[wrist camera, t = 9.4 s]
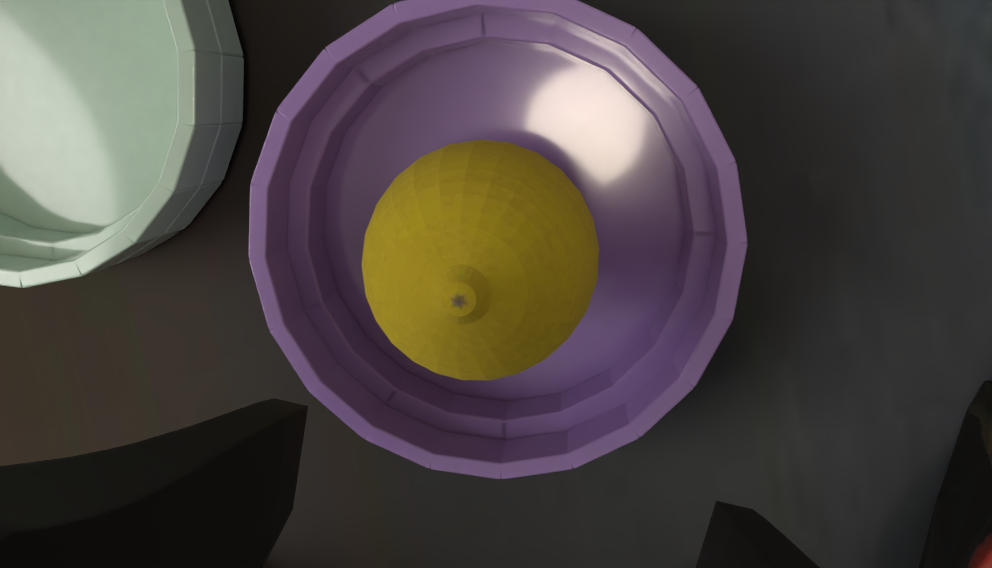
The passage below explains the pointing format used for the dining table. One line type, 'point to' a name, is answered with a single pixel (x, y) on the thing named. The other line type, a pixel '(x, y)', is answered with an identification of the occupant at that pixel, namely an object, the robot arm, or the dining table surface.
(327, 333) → the lavender bowl
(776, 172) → the dining table surface
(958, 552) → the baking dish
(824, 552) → the dining table surface
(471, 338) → the lemon
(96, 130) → the celadon bowl
